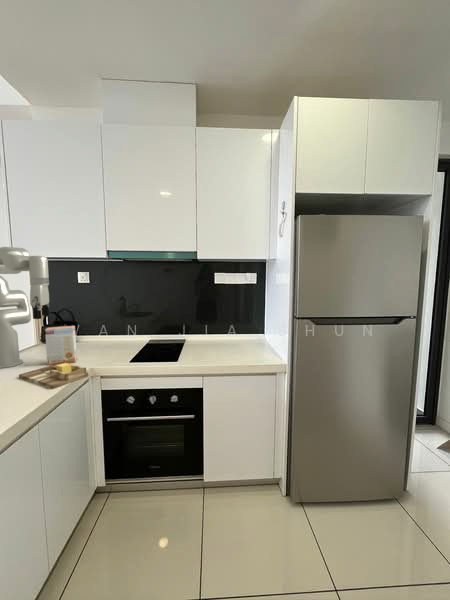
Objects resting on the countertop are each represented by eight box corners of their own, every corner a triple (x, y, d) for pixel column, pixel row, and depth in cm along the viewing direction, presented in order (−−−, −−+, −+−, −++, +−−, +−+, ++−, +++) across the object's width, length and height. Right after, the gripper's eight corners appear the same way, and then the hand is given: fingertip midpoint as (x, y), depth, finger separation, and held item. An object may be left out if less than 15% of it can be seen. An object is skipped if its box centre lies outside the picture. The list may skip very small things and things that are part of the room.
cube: (56, 374, 132) (56, 365, 132) (66, 371, 136) (65, 362, 136) (62, 375, 130) (61, 366, 130) (71, 372, 134) (70, 364, 134)
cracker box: (77, 359, 160) (75, 325, 159) (75, 362, 155) (73, 327, 153) (50, 362, 156) (48, 326, 154) (47, 365, 150) (44, 328, 148)
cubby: (50, 375, 130) (49, 370, 130) (70, 369, 139) (70, 363, 139) (66, 380, 124) (66, 374, 124) (86, 373, 133) (86, 367, 133)
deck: (19, 377, 132) (18, 374, 132) (54, 367, 147) (54, 364, 147) (53, 388, 119) (53, 385, 119) (88, 376, 134) (88, 373, 134)
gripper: (38, 281, 136) (40, 314, 138) (21, 282, 119) (24, 320, 121) (55, 281, 138) (56, 314, 139) (40, 282, 121) (43, 320, 123)
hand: (41, 317), depth 130 cm, fingers open, 9 cm apart
